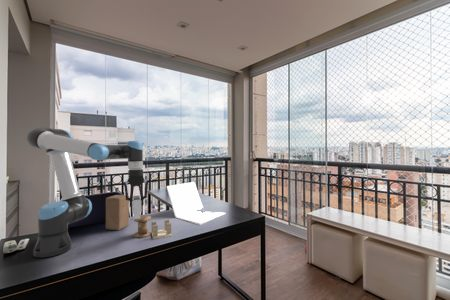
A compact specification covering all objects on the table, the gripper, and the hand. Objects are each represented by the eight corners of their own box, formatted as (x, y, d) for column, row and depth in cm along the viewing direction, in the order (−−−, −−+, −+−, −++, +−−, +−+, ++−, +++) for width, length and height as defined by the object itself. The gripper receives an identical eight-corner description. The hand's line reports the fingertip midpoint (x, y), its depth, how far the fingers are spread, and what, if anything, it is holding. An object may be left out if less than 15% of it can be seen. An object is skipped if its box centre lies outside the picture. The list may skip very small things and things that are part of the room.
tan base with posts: (171, 236, 123) (171, 224, 123) (153, 239, 119) (153, 226, 119) (168, 230, 132) (168, 219, 133) (151, 233, 128) (151, 221, 128)
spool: (134, 239, 120) (134, 221, 120) (134, 233, 128) (134, 216, 128) (151, 236, 123) (151, 218, 123) (150, 231, 131) (150, 214, 132)
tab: (133, 219, 113) (133, 198, 113) (133, 215, 121) (133, 196, 121) (140, 218, 114) (139, 198, 114) (139, 214, 122) (139, 195, 122)
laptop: (200, 226, 141) (200, 191, 141) (166, 216, 162) (166, 186, 162) (226, 215, 165) (226, 185, 165) (194, 208, 186) (194, 181, 186)
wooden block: (119, 230, 132) (119, 198, 132) (104, 229, 134) (105, 197, 134) (129, 225, 142) (129, 195, 142) (116, 224, 144) (116, 194, 144)
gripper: (118, 170, 111) (120, 216, 111) (151, 168, 118) (153, 211, 117) (119, 169, 118) (120, 212, 118) (150, 168, 125) (152, 208, 124)
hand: (136, 212), depth 118 cm, fingers closed on tab, 3 cm apart
